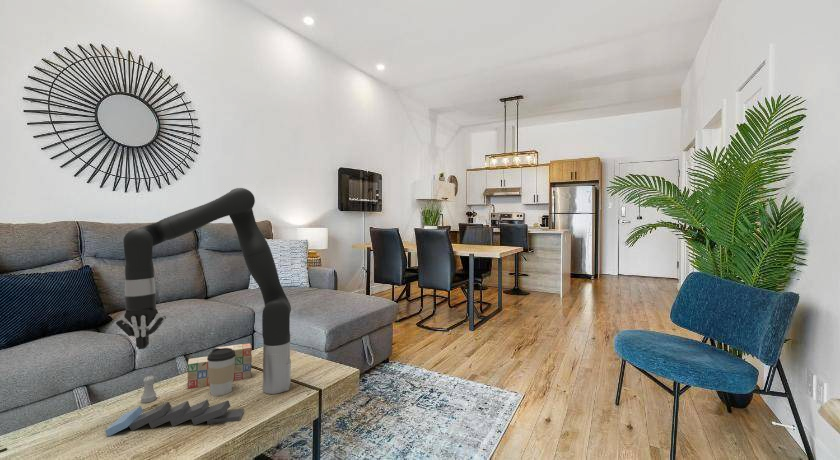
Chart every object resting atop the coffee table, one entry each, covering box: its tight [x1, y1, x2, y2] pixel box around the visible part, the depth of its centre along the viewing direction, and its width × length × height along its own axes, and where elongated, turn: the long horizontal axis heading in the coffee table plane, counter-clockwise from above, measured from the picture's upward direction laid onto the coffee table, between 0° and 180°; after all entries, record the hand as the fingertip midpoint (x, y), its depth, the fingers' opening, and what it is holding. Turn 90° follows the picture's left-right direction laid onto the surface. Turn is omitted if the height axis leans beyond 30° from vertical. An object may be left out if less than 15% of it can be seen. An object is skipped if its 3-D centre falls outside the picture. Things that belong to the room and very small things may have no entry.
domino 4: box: [190, 400, 231, 426], centre depth 109 cm, size 2×5×9 cm
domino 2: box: [148, 400, 191, 430], centre depth 108 cm, size 2×5×9 cm
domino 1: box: [128, 401, 172, 432], centre depth 107 cm, size 2×5×9 cm
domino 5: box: [206, 408, 245, 425], centre depth 111 cm, size 2×5×9 cm
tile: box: [104, 405, 144, 437], centre depth 106 cm, size 2×5×9 cm
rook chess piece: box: [140, 375, 158, 404], centre depth 122 cm, size 4×4×8 cm
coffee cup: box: [207, 347, 236, 397], centre depth 129 cm, size 9×9×15 cm
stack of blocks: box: [187, 343, 253, 390], centre depth 138 cm, size 21×6×12 cm, turn 119°
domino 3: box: [169, 399, 211, 427], centre depth 109 cm, size 2×5×9 cm
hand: (142, 348), depth 111 cm, fingers closed
